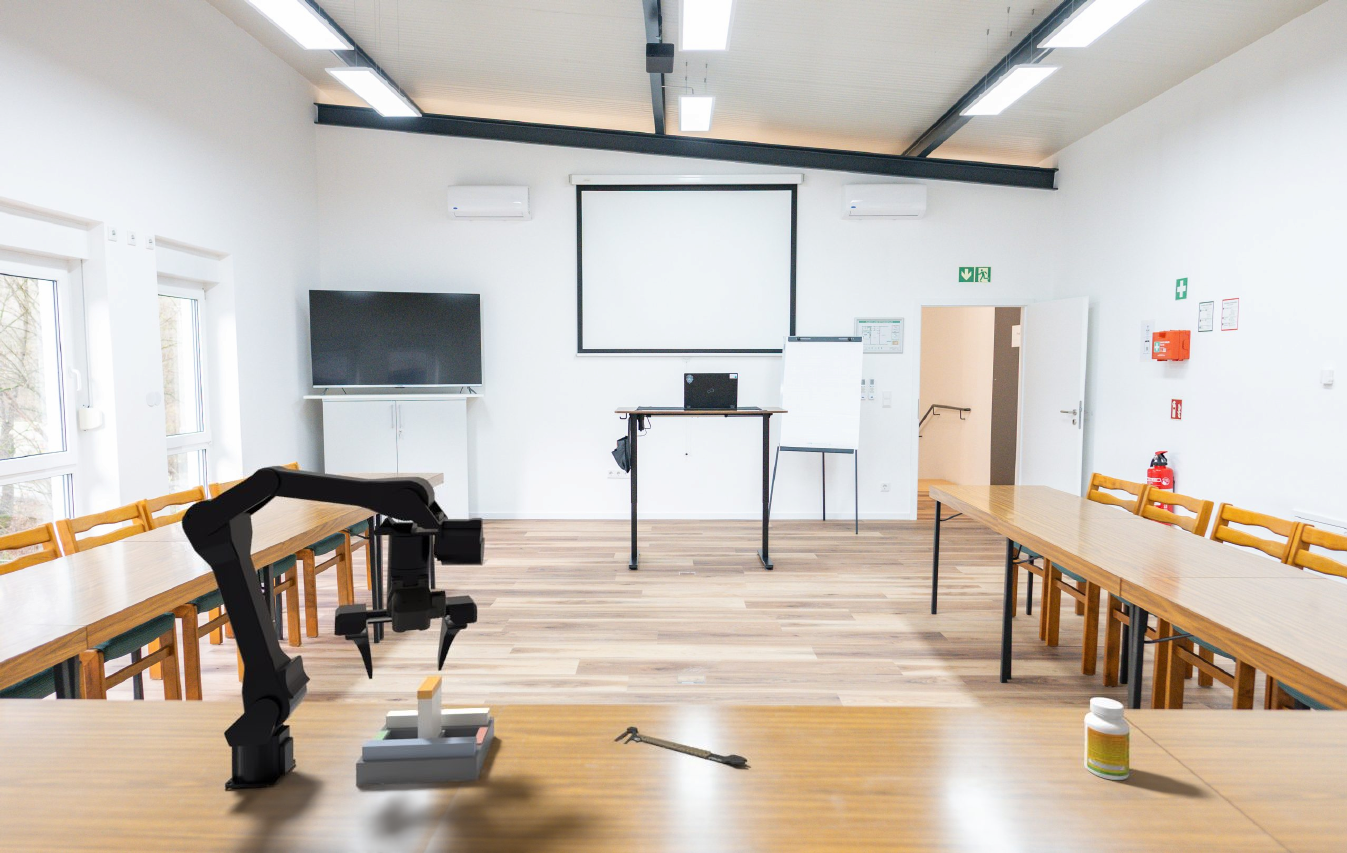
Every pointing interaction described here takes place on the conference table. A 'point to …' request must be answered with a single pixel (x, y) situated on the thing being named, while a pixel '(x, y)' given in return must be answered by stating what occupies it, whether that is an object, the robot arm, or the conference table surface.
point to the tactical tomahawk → (681, 747)
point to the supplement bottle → (1106, 740)
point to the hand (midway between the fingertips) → (405, 673)
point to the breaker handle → (430, 708)
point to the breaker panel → (426, 764)
